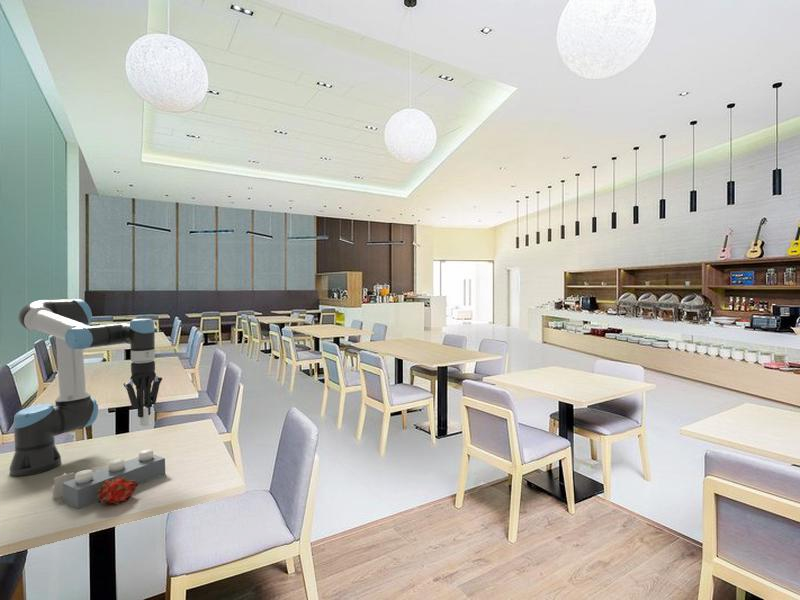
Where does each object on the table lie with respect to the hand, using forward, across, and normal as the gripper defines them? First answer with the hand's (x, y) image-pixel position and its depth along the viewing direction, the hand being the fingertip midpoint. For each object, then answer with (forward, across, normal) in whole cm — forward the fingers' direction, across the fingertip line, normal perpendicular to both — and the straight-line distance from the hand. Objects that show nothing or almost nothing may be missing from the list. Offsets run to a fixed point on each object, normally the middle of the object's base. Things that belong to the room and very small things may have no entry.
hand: (144, 425), depth 157 cm
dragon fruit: (+19, -15, -12) cm, 27 cm away
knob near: (+18, -20, -1) cm, 27 cm away
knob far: (+18, 0, -1) cm, 18 cm away
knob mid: (+18, -10, -1) cm, 20 cm away
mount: (+19, -10, -1) cm, 21 cm away
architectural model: (+20, -22, +9) cm, 31 cm away
